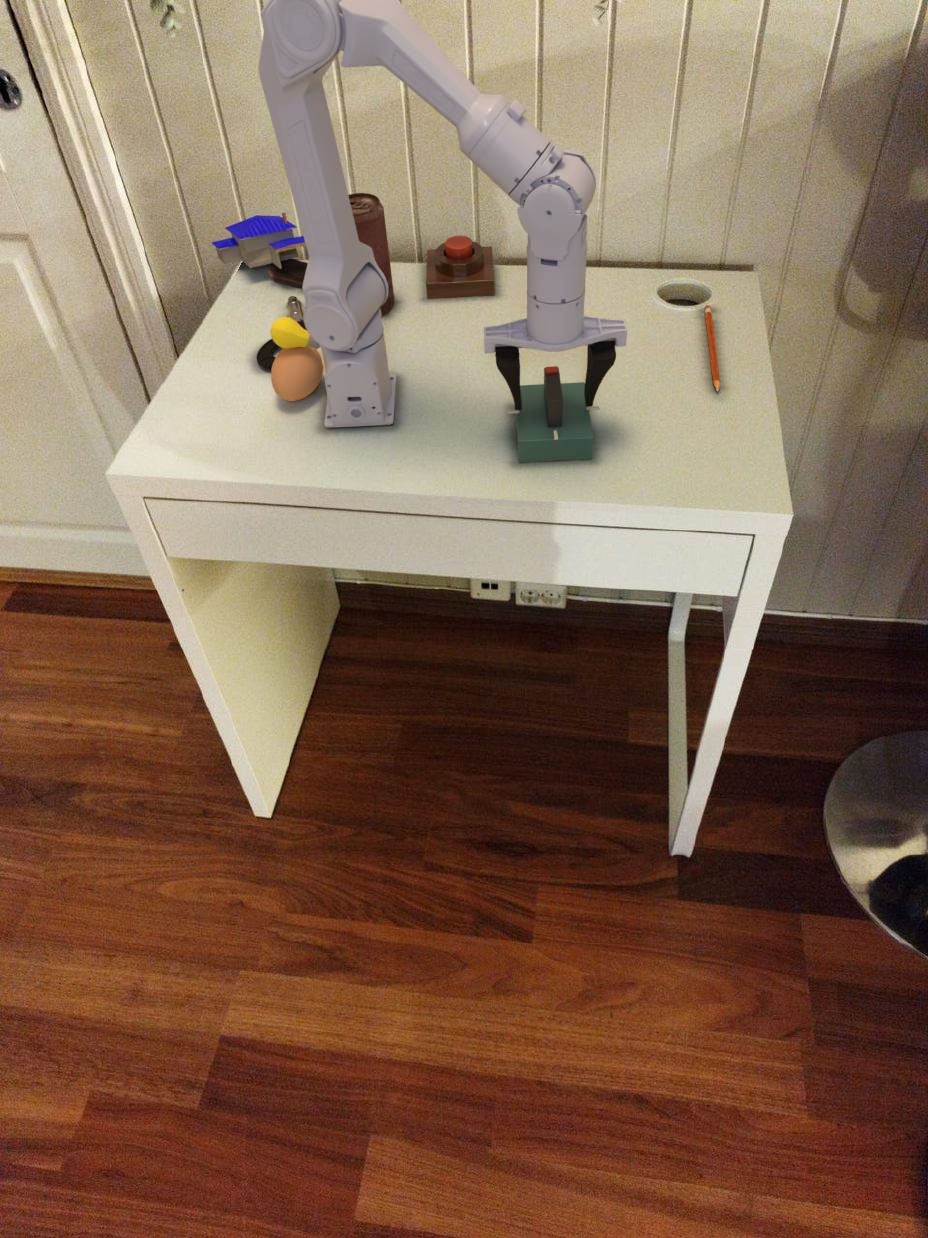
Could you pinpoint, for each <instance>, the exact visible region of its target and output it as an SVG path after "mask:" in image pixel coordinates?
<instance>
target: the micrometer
mask: <svg viewBox="0 0 928 1238" xmlns="http://www.w3.org/2000/svg"><path fill="white" fill-rule="evenodd" d="M285 308H286V313H287V317H288V318H291V319H293V320H295V321H296V322H297V323H298V324H299V325H300V326H301V327H302V328H303V329H305V330H307V329H306V327H305V324H304V319H303V313H304V306H303V303H302V301H300V300H299V299H298V298H297V297H296V296H295V295H291V296H289V297H288V298H287V302H286V304H285ZM279 348H281V347H280V346H278V345H277V344H276V343H275V342H274V341H273V339H272V338H270V339H268V340H267V341H266V342H265V343H264V344H263V345H262V346H261V347H260V348H259V349H258V351H257V353H256V361H257V363H258V365H259V366H260V368H263V369H265V370H271V369H272V365H273V362H274V360H275V358H276V356H274V355H273V353H274V352H275V351H276V350H277V349H279Z"/></svg>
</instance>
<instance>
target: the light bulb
mask: <svg viewBox="0 0 928 1238" xmlns="http://www.w3.org/2000/svg"><path fill="white" fill-rule="evenodd" d="M270 337H271V339H273V341H274V342H275V343H276V344H277V345H278V346H280V347H279V348H281V349H283V348H285V349H291V348H297V347H304V348H305V347H307V346H309V347H311V348H312V347H313V348H315V349H316V350H317V349H319V348H321V347H320V345H319V343H317V342H316V341H315V340H314V339H313V338H312V337H311V335H310V334H309V333H308V331H307V330H305V329H303V328H302V327H301V326H300V325H299V324H298V323H297V322H296V321H295V320H293V319H291V318H288V316H283V317H279V318H277V319H275V320H274V322H273V323H272V325H271V328H270Z"/></svg>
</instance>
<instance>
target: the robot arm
mask: <svg viewBox="0 0 928 1238" xmlns="http://www.w3.org/2000/svg"><path fill="white" fill-rule="evenodd" d="M260 18H261V22H262V24H263V25H262V26H263V28H264V29H263V35H262V42H261V48H260V54H259V60H258V75H259V79H260V80H259V81H260V84H261V87H262V91H263V94H264V98H265V102H266V105H267V109H268V112H269V116H270V120H271V123H272V127H273V130H274V134H275V138H276V142H277V145H278V148H279V152H280V156H281V159H282V164H283V168H284V170H285V174H286V177H287V181H288V184H289V188H290V192H291V196H292V199H293V203H294V207H295V211H296V213H297V218H298V221H299V225H300V229H301V233H302V236H304V240H305V243H306V247H307V251H308V254H309V255H308V259H307V260H308V261H307V263H308V264H307V268H306V273H305V277H304V281H303V287H302V288H301V290H302V292H303V297H304V308H303V312H304V313H303V319H304V324H305V327H306V329H307V331H308V333H309V334H310V335H311V337H312V338H313V339H314V340H315V341H316V342H317V343H319V345H320V347H319V348H321V353H322V354H321V355H322V358H323V359H322V360H323V365H324V369H325V377H324V384H325V385H324V386H325V390H326V394H327V395H326V396H327V400H326V406H325V415H324V422H323V424H324V427H325V428H327V429H329V428H331V429H332V428H351V427H370V426H371V427H372V426H390V425H393V424H394V422H395V407H396V392H397V391H396V389H397V374H395V373H390V370H389V361H388V354H387V347H386V339H385V332H384V331H385V330H384V323H383V320H382V318H383V317H382V316H383V315H381V308H380V307H381V306H382V305H383V304H384V303H385V302H386V300H387V297H388V292H389V288H388V282H387V280H386V277H385V276H384V274H383V272H382V271H381V270H380V268H379V267H378V265H377V263H376V261H375V258H374V255H373V250H372V248H371V247H369V246H368V245H366V244H363V243H361V242H360V241H359V239H358V234H357V230H356V226H355V221H354V217H353V213H352V208H351V204H350V200H349V196H348V195H349V192H348V188H347V182H346V179H345V175H344V169H343V165H342V162H341V157H340V152H339V149H338V148H339V147H338V144H337V140H336V135H335V132H334V127H333V122H332V119H331V118H332V117H331V114H330V110H329V106H328V101H327V97H326V93H325V88H324V84H323V78H324V76H325V75H326V73H327V71H328V70H329V69H330V67H331V65H332V64H333V63H334V61H335V59H336V58H337V57H338V55H339V54H340V52H343V53H342V58H341V62H340V66H341V67H343V68H360V67H361V68H363V67H382V68H383V67H384V68H385V69H386V70H388V71H389V72H390V73H391V74H392V75H393V76H395V77H396V78H397V79H398V80H399V81H400V82H401V83H403V84H404V85H405V86H406V87H408V88H409V89H410V90H411V91H412V92H413V93H415V94H416V95H417V96H418V97H419V98H420V99H422V100H423V101H425V103H427V104H428V105H429V106H430V107H432V108H433V109H434V110H435V111H436V112H437V113H438V114H439V115H441V116H442V117H444V118H445V120H447V121H448V122H449V123H450V124H452V126H454V127H455V128H456V133H457V139H458V145H459V150H460V152H461V153H462V154H464V155H465V156H466V157H467V158H468V159H469V160H470V161H471V162H472V164H474V165H475V166H476V167H477V168H478V169H480V171H482V173H484V175H486V176H487V177H488V178H489V179H490V180H491V181H492V182H493V183H494V184H495V185H496V186H497V187H498V188H499V189H500V190H501V191H502V192H504V194H506V195H507V196H508V197H509V198H510V199H511V200H512V201H513V202H514V203H516V204H517V205H518V207H517V209H516V210H517V211H516V212H517V217H518V220H519V223H520V225H521V227H522V229H523V230H524V231H525V232H526V234H527V245H526V318H523V319H519V320H513V321H510V322H507V323H503V324H502V323H501V324H499V325H492V326H484V327H483V338H484V339H483V344H484V346H483V347H484V354H494V353H495V364H496V367H497V369H498V371H499V373H500V374H501V375H502V377H503V379H504V380H505V383H506V384H507V386H508V388H509V390H510V394H511V397H512V399H513V403H514V410H522V401H521V389H520V385H521V359H520V349H528V350H529V349H530V350H535V351H543V352H549V353H550V352H551V353H557V352H558V353H559V352H566V351H569V350H574V349H576V348H577V349H578V348H581V347H584V346H587V353H586V354H587V355H586V357H587V358H586V373H585V378H584V379H585V380H584V383H585V390H584V396H585V402H586V407H593V406H594V401H595V397H596V395H597V392H598V390H599V387H600V386H601V384H602V382H603V380H604V378H605V377H606V375H607V374H608V372H609V371H610V370H611V368H612V367H613V366H614V364H615V362H616V359H617V351H616V347H617V348H618V347H621V348H622V347H627V340H628V339H627V338H628V327H627V326H628V325H627V322H626V319H610V318H602V317H596V316H589V315H588V316H587V315H585V299H586V281H587V280H586V278H587V261H588V260H587V258H588V241H587V235H588V215H587V214H586V213H587V211H588V209H589V207H590V205H591V203H592V202H593V199H594V196H595V193H596V189H597V177H596V174H595V172H594V169H593V167H592V166H591V164H590V163H589V161H588V160H587V159H586V157H585V155H584V154H583V153H581V152H579V151H576V150H575V149H574V150H573V149H568V148H562V147H561V146H560V144H555V143H552V142H551V141H550V140H549V139H548V138H547V137H546V136H545V135H544V133H542V132H541V131H540V130H539V129H538V128H537V127H536V126H535V125H534V124H533V123H532V122H531V121H530V120H529V119H528V118H527V117H526V116H525V115H524V114H525V113H526V111H527V109H526V108H525V106H524V105H522V104H521V102H519V101H518V100H517V99H514V100H513V102H510V100H508V99H507V97H505V95H503V94H499V93H498V94H497V93H496V94H495V93H493V94H490V93H489V94H487V93H482V92H480V90H479V89H478V88H477V87H476V86H475V85H474V84H473V83H472V82H471V81H470V79H469V78H468V77H467V76H466V75H465V74H464V73H463V72H462V70H460V69H459V68H458V66H457V65H456V64H455V63H454V62H453V61H452V60H451V58H449V56H448V55H447V54H446V53H445V52H444V51H443V50H442V49H441V47H439V45H437V43H436V42H435V41H434V39H432V38H431V36H430V35H429V34H428V33H427V32H426V31H425V30H424V29H423V28H422V26H421V25H420V24H419V23H418V22H417V21H416V20H415V18H414V17H412V15H410V13H409V12H408V11H407V10H406V8H405V7H404V6H403V5H402V3H401V1H400V0H268V1H267V2H266V4H265V5H264V7H263V8H262V10H261V11H260ZM306 247H305V248H306Z"/></svg>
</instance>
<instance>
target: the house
mask: <svg viewBox="0 0 928 1238" xmlns="http://www.w3.org/2000/svg"><path fill="white" fill-rule="evenodd" d="M297 228H298V226H297V225H295V224H293V223H292V222H291V221H288V219H287V213H286V212H281V216H280V215H254V216H252V217H248V218H246V219H243V220H241V221H239V222H236V223H233V224H231V225H229V226H226V227H224V229H225V230H226V231H227V232H229V233H230V235H231V237H229V238H224V239H221V240H215V241H211V245H212V246H213V247H214V248H215V251H216V253H217V257H218V260H219V261H221V262H222V263H223V264H224V265H228V264H233V263H237V262H241V261H242V263H244V264H245V265H246V266H247V267H249V269H252V268H257V267H261V266H266V265H269V264H270V263H274V264H275V265H276V266H278V267H279V268H280V269H281V268H282V267H281V263H280V261H283V260H287V259H296V258H299V253H298V248H303V247H305V252H306V255H307V256H309V254H308V251H307V247H306V243H305V240H304V236H303V235H300V236H295V235H294V231H293V230H294V229H297Z"/></svg>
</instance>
